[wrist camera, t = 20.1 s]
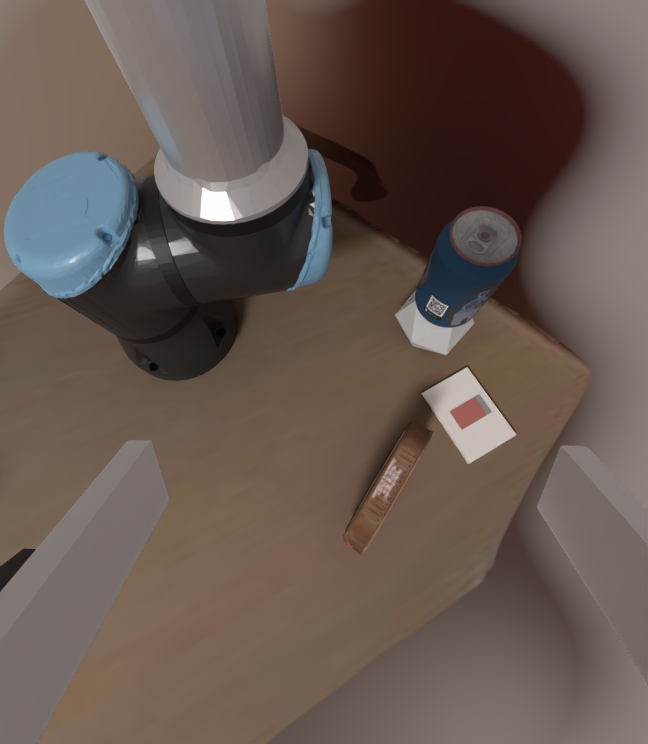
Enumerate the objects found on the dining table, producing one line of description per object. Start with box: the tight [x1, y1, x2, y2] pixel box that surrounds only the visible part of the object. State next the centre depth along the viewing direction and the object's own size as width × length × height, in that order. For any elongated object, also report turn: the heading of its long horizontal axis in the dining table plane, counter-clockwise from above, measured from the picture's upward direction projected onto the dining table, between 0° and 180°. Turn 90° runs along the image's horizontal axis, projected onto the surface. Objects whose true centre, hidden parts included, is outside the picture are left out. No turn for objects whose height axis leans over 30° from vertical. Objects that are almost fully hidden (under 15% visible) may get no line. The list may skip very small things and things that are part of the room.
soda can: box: [415, 206, 522, 328], centre depth 34 cm, size 7×7×12 cm
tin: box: [343, 422, 433, 555], centre depth 37 cm, size 15×3×8 cm, turn 146°
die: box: [395, 290, 474, 355], centre depth 44 cm, size 8×9×10 cm
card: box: [421, 367, 516, 464], centre depth 43 cm, size 10×7×1 cm
